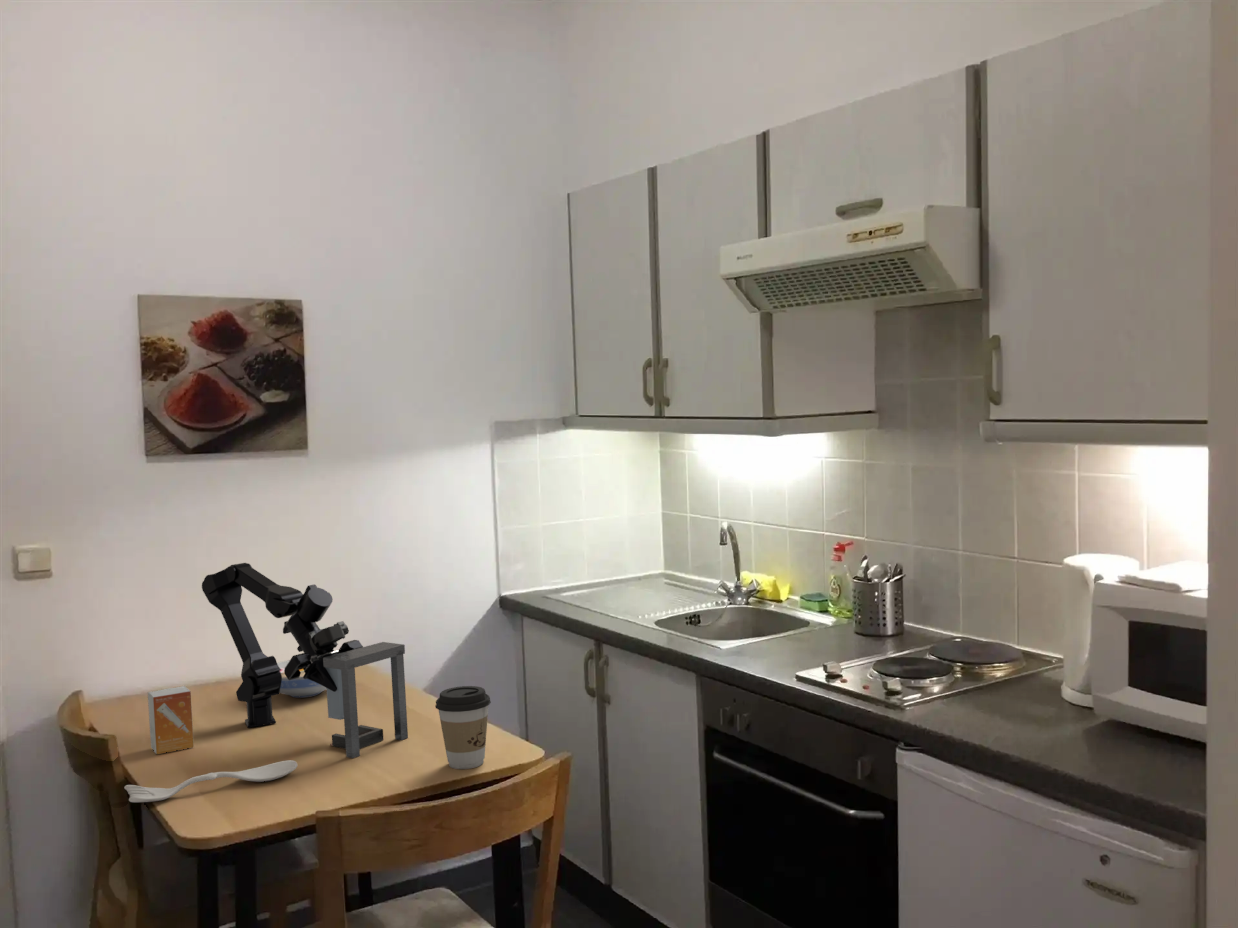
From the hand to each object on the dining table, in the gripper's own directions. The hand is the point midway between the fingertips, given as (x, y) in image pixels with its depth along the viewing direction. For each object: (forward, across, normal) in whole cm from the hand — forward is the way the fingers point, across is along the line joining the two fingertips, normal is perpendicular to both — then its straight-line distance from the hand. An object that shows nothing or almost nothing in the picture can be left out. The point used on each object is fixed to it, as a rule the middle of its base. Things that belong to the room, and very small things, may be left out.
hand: (343, 688), depth 245 cm
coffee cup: (+34, +1, -16) cm, 38 cm away
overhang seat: (+12, 0, +5) cm, 13 cm away
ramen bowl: (-22, +23, +39) cm, 50 cm away
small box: (-14, -22, +31) cm, 41 cm away
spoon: (+9, -34, +8) cm, 36 cm away
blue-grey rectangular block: (+4, 0, +6) cm, 7 cm away
